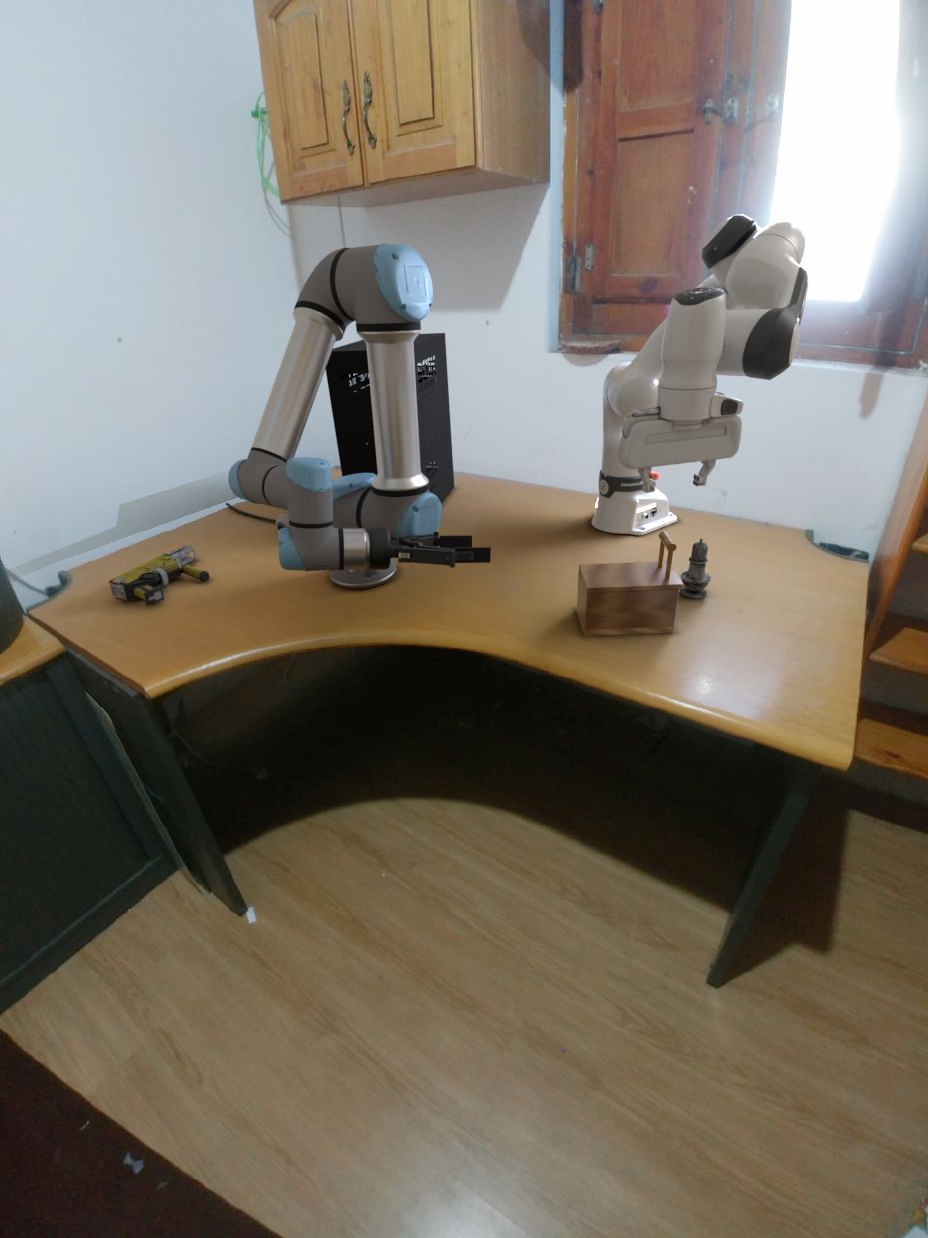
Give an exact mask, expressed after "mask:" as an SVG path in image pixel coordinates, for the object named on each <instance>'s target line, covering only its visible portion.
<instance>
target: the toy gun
mask: <svg viewBox="0 0 928 1238" xmlns="http://www.w3.org/2000/svg"><path fill="white" fill-rule="evenodd" d="M191 553H193V556H190V554H191ZM196 560H197V556H196V551H195V547H194V546H192V545H189V546H188V545H187V544H184V545H182V546H180V547H177V548H176V549H174V550H171V551H170V552H168V553H163V554H161V555H159V556H157V557H155V558H153V559H151V560H149V561H147V562H145V563H142V564H139V565H138V566H136V567H133V568H132V569H129V570H128V571H125V572H123V573H121V574H119V575H117V576H115V577H113V578H111V579H110V580H108V583H109V587H110V591H111V594H112V597H113V598H115V600H117V601H118V600H119V601H120V602H121V601H122V602H123V601H125V600H126V601H131V600H135V599H143V600H144V601H145V605H146V607H150V606H153V605H155V604H157V603H159V602H162V601H164V600H165V596H164V591H163V590H164V589H163V588H164V587H166V586H168V585H169V581H171V580H173V579H175V578H178V577H181V575H182V574H184V575H185V576H189V577H191V578H194V579H196V580H199V581H200V582H202V583H205V582H207V581H209V580H210V573H209V572H208V571H207V570H202V569H200V568H198V567H195V566H192V565H191V564H190V563H192V562H193V561H196Z"/></svg>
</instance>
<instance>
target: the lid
mask: <svg viewBox="0 0 928 1238" xmlns="http://www.w3.org/2000/svg"><path fill="white" fill-rule="evenodd" d="M658 538H659V540H660V544H659V551H658V560H656V561H635V562H633V561H632V562H631V561H630V562H611V563H606V562H605V563H585V564H584V563H583V564H579V565H578V572H579V571H580V574H581V577H582V580H583V582H584V585H585V588H586V591H587V593H592V592H618V591H644V590H669V589H679V590H680V589H683V587H685V586H684V584H683V582H682V581H681V580H682V579H681V577H680V576H679V575H678V574H677V572H676V571H675V569H674V567H673V566H672V565H673V564H672V562H673V557H674V555H673V554H674V552H675V551H676V550H677V544H676V543H675V541H674V540H673V539H672V538H671V536H670V535H669V534H668V532H667V531H664V530H661V531H660V532H659V534H658ZM665 549H666V550H667V556H666V557H667V558H666V560H664V555H665Z"/></svg>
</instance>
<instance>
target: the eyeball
mask: <svg viewBox="0 0 928 1238" xmlns="http://www.w3.org/2000/svg"><path fill="white" fill-rule="evenodd" d="M275 520H276V523H275V527H276V529H277V530H278V531H279V530H280V529H282V528H286V527H289V515H288V511H286V512H282V513H280V514H279V515H278V516H277V517H276V519H275Z"/></svg>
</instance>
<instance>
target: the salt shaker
mask: <svg viewBox="0 0 928 1238" xmlns="http://www.w3.org/2000/svg"><path fill="white" fill-rule="evenodd" d="M691 549H692V550H691V555H690V557H688V561H689V564H688V569H687V570H686V571H683V572H681V573H680V574H679V575H680V576H679V578H680V579H681V581H682V582H683V584H684V586H683V589H679V593H680V595H682V596H684V597H686V598H689V599H702V598H705V597H706V596H707V595H708V592H707V591H706V589H705V588H707V586H708V584H709V583H710V581H711V580H712V577H711V575H710V574H709V573H706V565H707V563H708V562H709V560H708V558H707V556H708V550H709V545H708V544H707V542H704V539H703V538H702V537H701V538H700V539H699V541H696V542H695V543H693V544H692V548H691Z"/></svg>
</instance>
